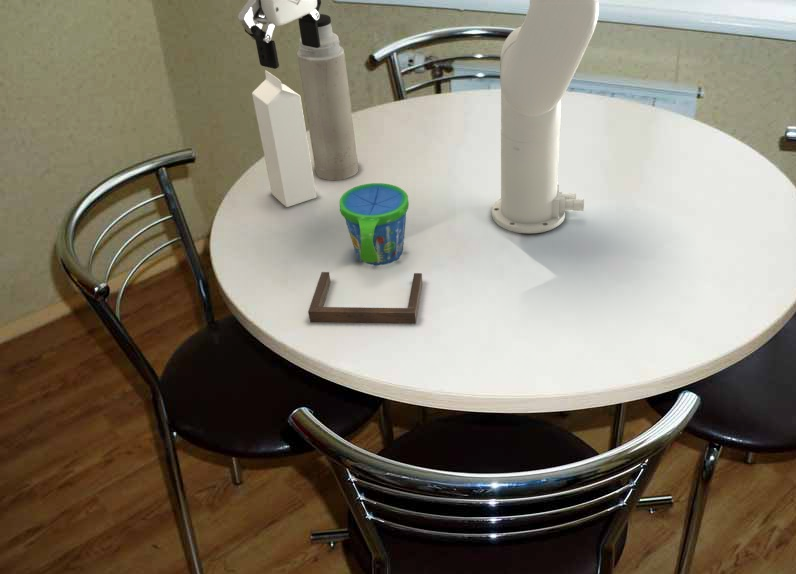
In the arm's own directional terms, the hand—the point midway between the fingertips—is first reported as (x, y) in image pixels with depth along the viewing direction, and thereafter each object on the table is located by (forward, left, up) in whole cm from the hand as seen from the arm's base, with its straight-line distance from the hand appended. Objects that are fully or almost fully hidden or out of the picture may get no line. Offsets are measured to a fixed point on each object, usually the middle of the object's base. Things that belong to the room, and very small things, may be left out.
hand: (291, 56), depth 127 cm
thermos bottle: (-1, -16, -28) cm, 32 cm away
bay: (-13, +26, -27) cm, 40 cm away
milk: (+5, -6, -28) cm, 29 cm away
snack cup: (-13, +13, -28) cm, 33 cm away
